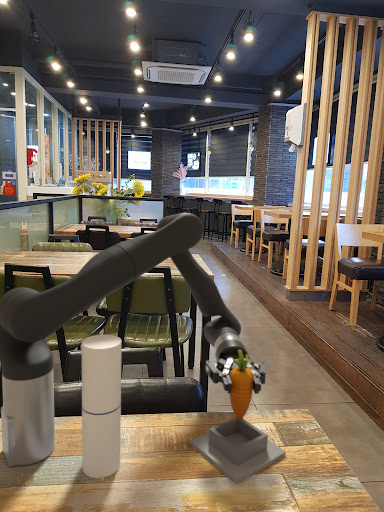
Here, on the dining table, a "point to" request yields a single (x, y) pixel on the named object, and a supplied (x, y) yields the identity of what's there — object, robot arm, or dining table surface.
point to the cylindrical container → (101, 405)
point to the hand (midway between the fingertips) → (243, 389)
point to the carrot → (241, 386)
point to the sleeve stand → (238, 449)
